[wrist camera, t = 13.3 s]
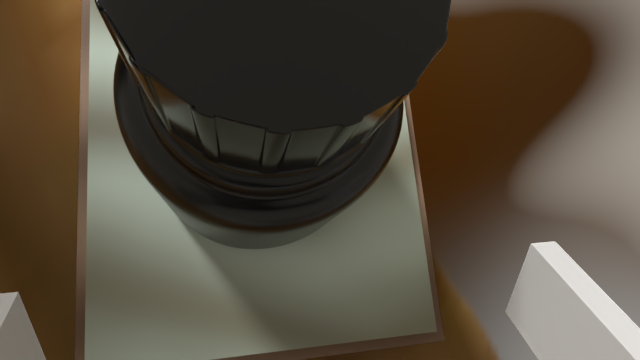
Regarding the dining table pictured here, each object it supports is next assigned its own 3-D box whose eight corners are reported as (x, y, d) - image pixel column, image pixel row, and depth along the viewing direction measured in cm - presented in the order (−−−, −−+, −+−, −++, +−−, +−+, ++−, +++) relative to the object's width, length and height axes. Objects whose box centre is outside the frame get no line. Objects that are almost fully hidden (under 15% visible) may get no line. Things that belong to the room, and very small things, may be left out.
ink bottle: (394, 203, 20) (594, 95, 9) (211, 298, 18) (165, 317, 7) (296, 22, 22) (362, -277, 10) (113, 90, 19) (-67, -195, 8)
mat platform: (101, 8, 24) (78, -38, 20) (375, 13, 27) (395, -27, 23) (97, 374, 20) (69, 391, 17) (418, 334, 23) (449, 342, 19)
